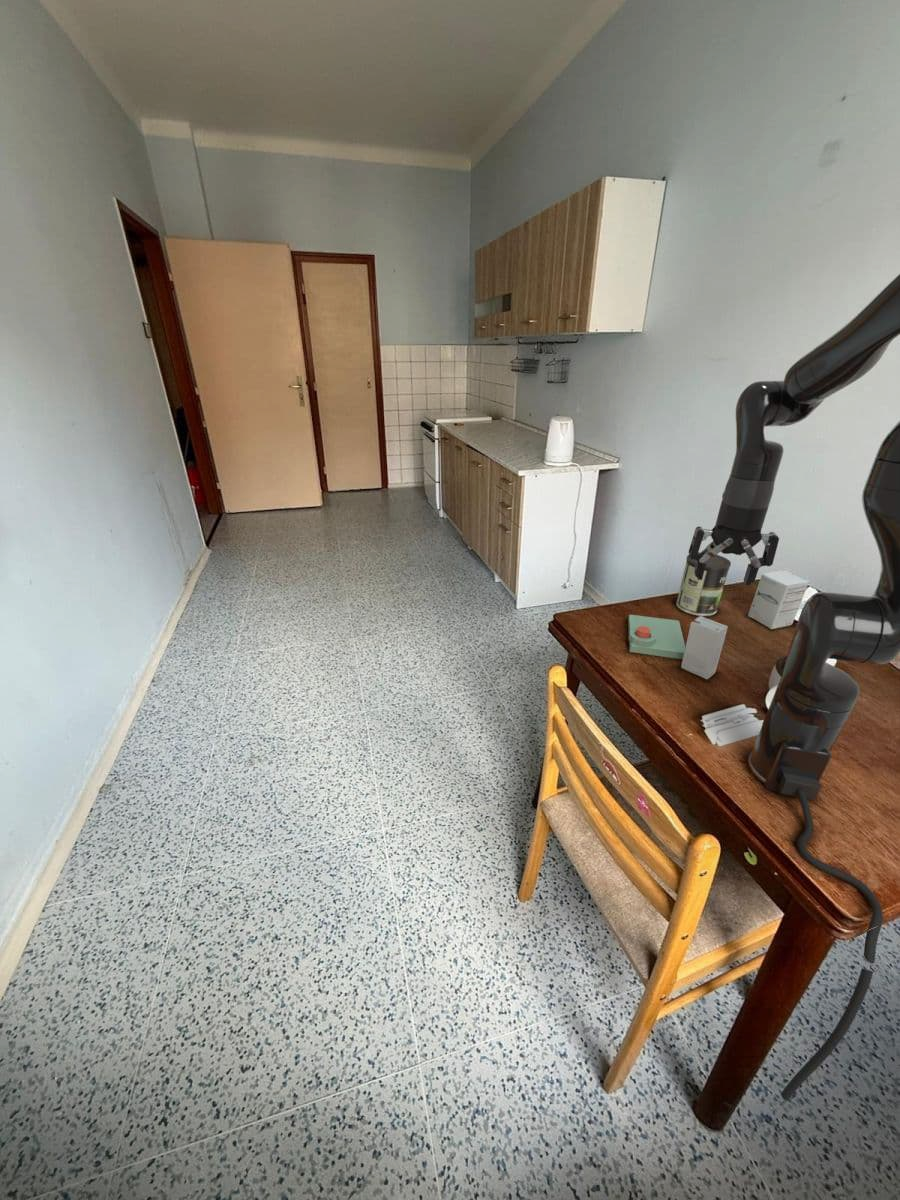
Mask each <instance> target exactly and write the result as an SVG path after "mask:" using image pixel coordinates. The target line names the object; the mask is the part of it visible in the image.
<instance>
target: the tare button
mask: <svg viewBox="0 0 900 1200" xmlns="http://www.w3.org/2000/svg"><path fill="white" fill-rule="evenodd" d="M650 632H651V630H650V629H649V628H648V627H645V626H639V627H638V628H637V631H636V636H637V637H639V638H644V639H647V638H649V637H650Z"/></svg>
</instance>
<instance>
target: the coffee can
mask: <svg viewBox="0 0 900 1200" xmlns="http://www.w3.org/2000/svg"><path fill="white" fill-rule="evenodd" d="M696 562H697V560H695V559H691V558H690V555H689V554H687V556H686V562H685V565H684V570H683V573H682V578H681V582H680V587H679V590H678V591H679V592H678V596H677V599H676V603H675V604H676V607H677V608H678V609H679V610H680V611H682V612H684V613H686V614H690V615H693V616H698V617H699V616H702V617H710V616H713V615H715V614H717V612H718V608H719V605H720V601H721V598H722V595H723V591H724V588H725V584H726V580H727V577H728V573H729V570H730V567H731V565H732V562H731V560H729V559H728V558H727V557H725V556H722V555H719V554H717V555H715V556H714V557H711V558H710V559H709V560H707V561H706V567H705V570H704V574H703V578H702V580H698V579H697V577H696V576H695V573H694V570H695V566H696Z"/></svg>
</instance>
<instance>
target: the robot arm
mask: <svg viewBox="0 0 900 1200" xmlns="http://www.w3.org/2000/svg"><path fill="white" fill-rule="evenodd" d="M898 336H900V273H898V275H897V276H896V277H895V278H894V279H893V280H891V281H890V282H889V283H888V284H887V285H886V286H885V287H884V288H883V289H882V290H881V291H880V292H879V293H878V294H877V295H876V296H875V297H874V298H873V299H872V300H871V301H870V302H869V303H868V304H867V305H866V306H865V307H864V308H862V310H860V311H859V312H858V313H857V314H856V315H855V316H854V317H853V318H851V320H849V321H848V322H847V323H846V324H845V325H844V326H842V327H841V328H840V329H839V330H837V331H836V332H835V333H833V334H832V335H831V336H830V337H827V338H826V339H825V340H824V341H823V342H821V343H820V344H818V345H816V346H815V347H814V348H813V349H812V350H810V351H809V352H808V353H806V354H805V355H803V356H802V357H800V358H799V359H798V360H797V361H795V362H794V363H793V364H792V365H791V366H790V367H789V368H788V370H787V372H786V373H785V376H784V380H760V381H755V382H752V383H751V384H749V385H748V386H746V387H745V389H744V390H743V391H742V392H741V394H740V395H739V397H738V399H737V402H736V406H735V445H736V446H735V454H734V458H733V462H732V466H731V470H730V474H729V477H728V479H727V482H726V483H725V486H724V490H723V492H722V496H721V502H720V507H719V508H718V509H719V510H718V514H717V517H716V521H715V524H714V526H713V527H712V529H709V528H703V527H702V526H696V527H695V529H694V532H693V536H692V538H691V541H690V545H689V548H688V555H690V558H691V559H695V560H697V562H696V566H695V570H694V573H695V576H696V577H697V579H698V580H702V578H703V574H704V570H705V567H706V561H707V560H709V559H710V558H711V557H714V556H715V555H719V554H720V553H722V554H725V555H729V554H734V555H736V556H742V554H746V556H747V558H748V560H749V561H750V563H748V564H747V567H746V570H745V574H744V577H743V583H744V585H745V586H751V583H752V584H753V583H755V581H756V578H757V575H758V573H759V569H760V568H761V567H772V566H773V564H774V560H775V557H776V553H777V549H778V545H779V541H780V537H779V536H778V535H777V533H776V532H774V531H771V532H769V533H762V529H763V526H764V523H765V519H766V516H767V513H768V509H769V507H770V504H771V500H772V497H773V494H774V489H775V482H776V478H777V475H778V472H779V469H780V465H781V463H782V459H783V455H784V446H783V444H781V443H779V442H777V441H773V440H769V439H766V437H765V427H788V426H792V425H795V424H798V423H799V422H801V421H802V422H803V420H805V419H807V418H808V417H809V416H810V415H811V414H812V413H813V412H814V411H815V410H816V409H817V408H819V406H820V405H822V403H823V402H824V401H825V399H827V398H829V397H831V396H832V395H835V394H836V393H838V392H840V391H841V390H843V389H845V388H846V387H848V386H850V385H851V384H853V383H855V382H857V381H858V380H860V379H861V378H862V377H864V376H865V375H866V374H868V373H869V372H870V371H871V370H872V369H873V368H874V367H875V366H876V365H877V364H878V362H880V360H881V359H882V357H883V356H884V354H885V352H886V351H887V349H888V347H889V345H890V344H891V343H892V342H893V340H894V339H896V338H897V337H898ZM861 504H862V509H863V512H864V515H865V519H866V522H867V524H868V527H869V528H870V529H869V530H870V532H871V533H872V536H873V539H874V541H875V544H876V547H877V550H878V553H879V558H880V565H881V566H880V573H879V579H878V581H877V585H876V587H875V590H874V592H873V593H872V595H871V596H868V595H858V594H850V593H839V592H831V591H818V592H815V593H814V594H812V595H811V596H810V597H808V598H807V600H806V602H805V603H804V605H803V607H802V609H801V612H800V613H799V616H798V620H797V623H796V627H795V631H794V634H793V637H792V640H791V643H790V646H789V649H788V651H787V654H786V655H787V658H786V661H785V666H784V670H783V674H782V677H781V679H780V682H779V684H778V687H777V689H776V692H775V694H774V696H773V699H772V702H771V704H770V707H769V709H768V708H767V712H766V715H765V717H764V720H763V722H762V724H761V727H760V729H759V731H758V735H757V737H756V739H755V741H754V746H753V748H752V751H750V753H749V756H748V759H747V765H748V769H749V770H750V772H751V773H752V775H753V776H754V777H755V778H756V779H757V780H758V781H759V782H760V783H763V785H764V787H765V789H766V790H767V791H771V792H775V793H779V794H782V795H785V796H789V797H790V796H791V797H796V798H798V801H799V803H800V807H801V811H802V815H803V820H804V830H803V831H802V833H801V834H800V836H798V838H797V840H796V848H797V851H798V852H799V853H800V855H801V856H802V857H803V859H805V860H806V861H807V862H808V863H809V864H811V865H812V866H813V867H815V868H816V869H818V870H820V871H823V872H824V873H827V874H829V875H831V876H833V877H836V878H839V879H841V880H843V881H845V882H847V883H849V884H851V885H852V886H854V887H855V888H857V889H858V890H859V891H860V892H861V893H862V894H863V895H864V897H865V898H866V900H867V901H868V903H869V905H870V908H871V912H872V913H871V918H870V922H869V924H868V927H867V930H866V935H865V941H864V948H863V957H864V960H866V962H868V963H869V964H872V965H874V963H875V961H876V951H877V943H878V939H879V936H880V932H881V929H882V925H883V921H884V913H883V909H882V905H881V904H880V901H879V900H878V898H877V897H876V895H875V893H873V891H872V890H871V889H870V888H869V887H868V886H867V885H866V884H865V883H864V882H863V881H861V880H860V879H858V878H857V877H855V876H854V875H851V874H849V873H847V872H845V871H844V870H841V869H838V868H836V867H834V866H831V865H829V864H827V863H824V862H823V861H821V860H818V859H817V858H816V857H814V856H813V855H812V854H811V853H810V852H809V850H808V849H807V847H806V844H807V842H808V841H809V840H810V839H811V838H812V836H813V834H814V820H813V817H812V812H811V808H810V807H811V806H810V804H809V802H808V800H811V801H815V800H816V798H817V796H818V794H819V792H820V790H821V788H822V787H821V785H820V783H819V782H820V781H821V779H822V777H823V775H824V773H825V771H826V769H827V766H828V765H829V764H830V763H829V762H830V761H831V758H832V753H831V752H832V750H833V749H834V746H835V744H836V743H837V740H838V738H839V737H840V734H841V733H842V731H843V729H844V726H845V725H846V723H847V721H848V719H849V718H850V717H849V716H850V715H851V712H852V710H853V709H854V707H855V706H856V703H857V702H858V700H859V697H860V691H861V690H860V686H859V685H858V683H857V681H855V679H854V678H853V677H852V676H851V675H849V674H848V673H847V672H845V671H844V670H842V669H840V668H838V667H837V666H832V665H830V664H828V663H826V660H827V659H828V658H829V659H836V660H837V661H844V662H849V663H850V662H852V663H858V664H864V665H865V664H867V665H874V666H875V665H877V666H878V665H879V666H880V665H886V664H888V663H890V662H892V661H894V660H895V658H896V657H897V656H899V655H900V420H899V421H898V422H896V424H895V425H894V426H893V427H892V428H891V429H890V431H889V432H888V433H887V435H886V436H884V439H882V441H881V443H880V445H879V447H878V450H877V452H876V454H875V457H874V460H873V462H872V464H871V467H870V470H869V472H868V474H867V478H866V480H865V484H864V486H863V489H862V493H861ZM708 537H711V539H712V541H711V542H710V543H709V544H708V545H706V547H704V549H702V551H700V549H701V545H702V542H703V541H705V540H707V538H708ZM761 541H762V544H763V545H764V549H763V552H762V557H758V556H757V554H756V552H755V550H754V547H755V546H756V545H757V544H758V543H760V542H761ZM881 924H882V925H881ZM876 926H878V927H876ZM873 927H876V928H874V929H871V928H873ZM869 929H871V930H869ZM868 930H869V931H868ZM873 974H874V971H873V970H870V969H867V968H861V969H860V973H859V976H858V980H857V983H856V985H855V988H854V990H853V992H852V994H851V997H850V999H849V1001H848V1004H847V1006H846V1008H845V1010H844V1011H843V1013H842V1015H841V1017H840V1019H839V1021H838V1023H837V1024H836V1026H835V1027H834V1029H833V1030H832V1032H831V1034H830V1035H829V1037H828V1038H827V1039H826V1040H825V1042H824V1043H823V1044H822V1045H821V1046H820V1047H819V1049H818V1050H817V1051H816V1052H815V1053H814V1054H813V1056H812V1057H811V1058H810V1059H809V1060H808V1061H807V1062H806V1063H805V1064H804V1065H803V1066H802V1067H801V1068H800V1069H799V1070H798V1072H797V1073H796V1074H795V1075H794V1076H793V1077H792V1079H790V1081H789V1082H788V1083H787V1085H786V1086H785V1087H784V1088H783V1090H782V1091H781V1093H780V1097H781V1098H782V1099H783V1100H784V1101H786V1102H788V1101H789V1100H790V1099H791V1097H792V1096H793V1095H794V1094H795V1093H796V1091H798V1089H799V1088H800V1087H801V1085H803V1084H804V1082H805V1081H806V1080H807V1079H808V1078H809V1077H810V1076H811V1075H812V1074H813V1073H814V1072H815V1071H816V1070H817V1069H818V1068H819V1067H820V1066H821V1065H822V1064H823V1063H824V1062H825V1061H826V1059H827V1058H828V1057H829V1056H830V1055H831V1054H832V1053H833V1051H834V1050H835V1049H836V1047H838V1045H839V1044H840V1043H841V1041H842V1039H843V1038H844V1037H845V1035H846V1034H847V1032H848V1030H849V1029H850V1027H851V1025H852V1024H853V1022H854V1020H855V1018H856V1017H857V1014H858V1012H859V1011H860V1009H861V1007H862V1004H863V1001H864V999H865V998H866V995H867V992H868V990H869V987H870V985H871V981H872V978H873Z"/></svg>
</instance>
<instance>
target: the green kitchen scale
mask: <svg viewBox="0 0 900 1200" xmlns="http://www.w3.org/2000/svg"><path fill="white" fill-rule="evenodd" d="M627 626H628V627H627V630H628V646H629V647H628V648H629V653H636V654H642V655H649V656H656V657H662V658H663V657H664V658H669V659H677V660H683V656H684V652H685V647H686V643H685V640H684V636H683V631H682V626H681V623H680V620H678V619H677V620H676V619H669V618H660V617H653V616H644V615H636V614H628V619H627ZM639 626H645V627H648V628H649V629H650V630H651V632H650V637H649V638H647V639H644V638H639V637H637V636H636V631H637V628H638V627H639Z"/></svg>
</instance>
